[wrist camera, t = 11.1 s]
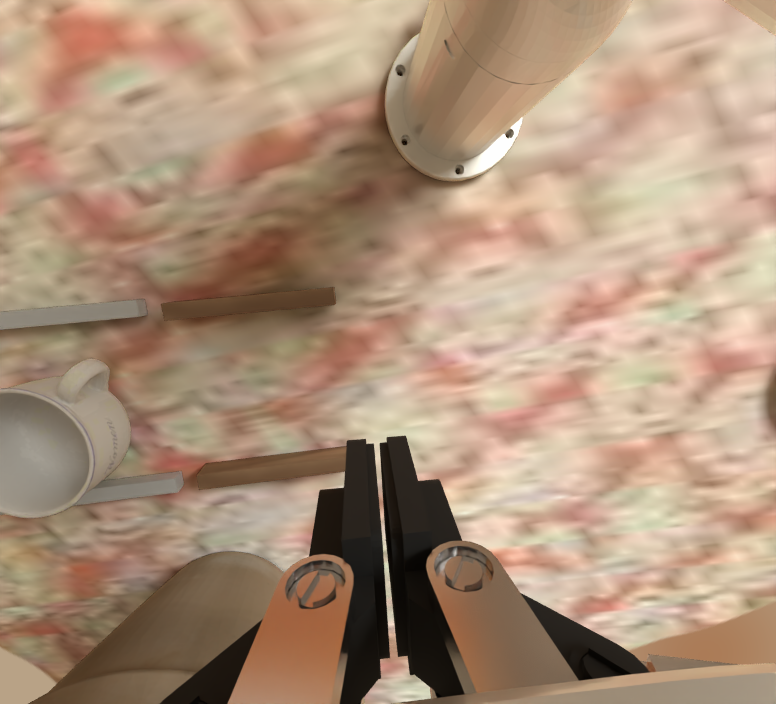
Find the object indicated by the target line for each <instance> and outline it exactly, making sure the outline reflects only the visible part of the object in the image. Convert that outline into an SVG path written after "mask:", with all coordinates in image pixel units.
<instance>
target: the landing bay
mask: <svg viewBox="0 0 776 704" xmlns="http://www.w3.org/2000/svg"><path fill="white" fill-rule="evenodd" d="M146 315H148V312H147V308H146V303H145V299H138V300H127V301H116V302H105V303H93V304H82V305H71V306H60V307H49V308H38V309H27V310H16V311H4V312H0V330H2V329H13V328H24V327H35V326H45V325H56V324H67V323H77V322H88V321H99V320H110V319H120V318H131V317H141V316H146ZM183 485H184V481H183V476H182V471H178V472H170V473H161V474H153V475H145V476H137V477H129V478H121V479H113V480H105V481H101V482H100V483H99V484H98V485H96V486H95V487H94V488H93V489H91V490H90V491H89V492H87V493H86V494H84V496H83V497H82V498H81V499H80V500H79V501H78V502H76V503H75V504H74V505H72V506H75V505H83V504H91V503H99V502H106V501H114V500H122V499H130V498H138V497H146V496H153V495H161V494H169V493H177V492H179V490H180V489H181V488H182V487H183ZM0 515H5V514H4V513H1V512H0Z"/></svg>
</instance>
